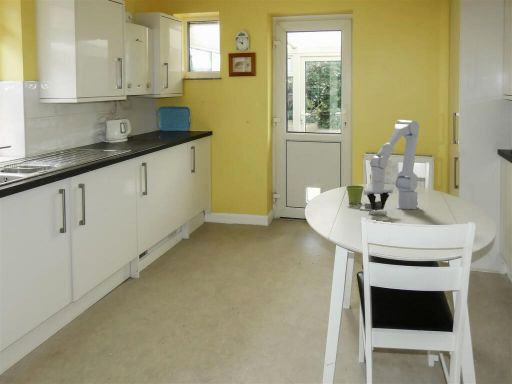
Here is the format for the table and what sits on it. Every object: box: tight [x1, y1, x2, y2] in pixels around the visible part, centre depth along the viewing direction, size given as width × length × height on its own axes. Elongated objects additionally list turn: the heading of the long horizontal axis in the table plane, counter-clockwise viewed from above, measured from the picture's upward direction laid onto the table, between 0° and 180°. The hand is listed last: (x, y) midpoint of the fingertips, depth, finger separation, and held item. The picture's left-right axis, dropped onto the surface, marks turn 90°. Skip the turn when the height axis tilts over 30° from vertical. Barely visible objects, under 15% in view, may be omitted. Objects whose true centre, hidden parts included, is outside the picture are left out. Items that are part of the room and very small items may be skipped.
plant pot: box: [345, 184, 365, 205], centre depth 296 cm, size 9×9×9 cm
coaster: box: [368, 210, 387, 217], centre depth 272 cm, size 8×8×1 cm
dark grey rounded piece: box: [373, 200, 384, 211], centre depth 272 cm, size 6×4×4 cm
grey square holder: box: [359, 201, 377, 211], centre depth 282 cm, size 8×8×3 cm
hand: (377, 208), depth 271 cm, fingers closed on dark grey rounded piece, 4 cm apart
